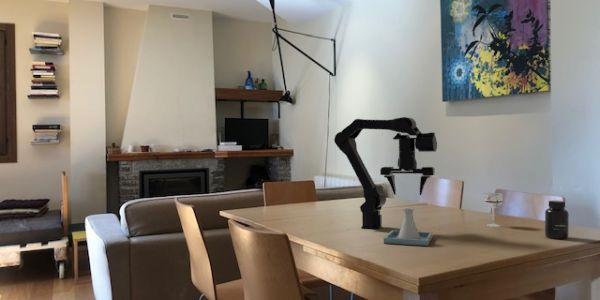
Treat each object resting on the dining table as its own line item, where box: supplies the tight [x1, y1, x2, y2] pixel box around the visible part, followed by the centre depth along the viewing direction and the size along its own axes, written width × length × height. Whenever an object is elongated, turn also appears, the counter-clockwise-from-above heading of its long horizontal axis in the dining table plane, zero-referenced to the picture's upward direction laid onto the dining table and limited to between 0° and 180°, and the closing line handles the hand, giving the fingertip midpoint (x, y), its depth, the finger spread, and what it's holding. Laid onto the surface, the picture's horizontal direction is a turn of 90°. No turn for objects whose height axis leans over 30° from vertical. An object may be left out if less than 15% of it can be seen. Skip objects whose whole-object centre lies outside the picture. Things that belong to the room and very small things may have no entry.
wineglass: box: [483, 192, 504, 228], centre depth 177 cm, size 7×7×12 cm
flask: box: [398, 207, 420, 240], centre depth 153 cm, size 7×7×10 cm
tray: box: [383, 229, 433, 247], centre depth 153 cm, size 14×14×2 cm
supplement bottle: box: [544, 200, 570, 240], centre depth 154 cm, size 7×7×12 cm
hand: (407, 194), depth 170 cm, fingers open, 9 cm apart
